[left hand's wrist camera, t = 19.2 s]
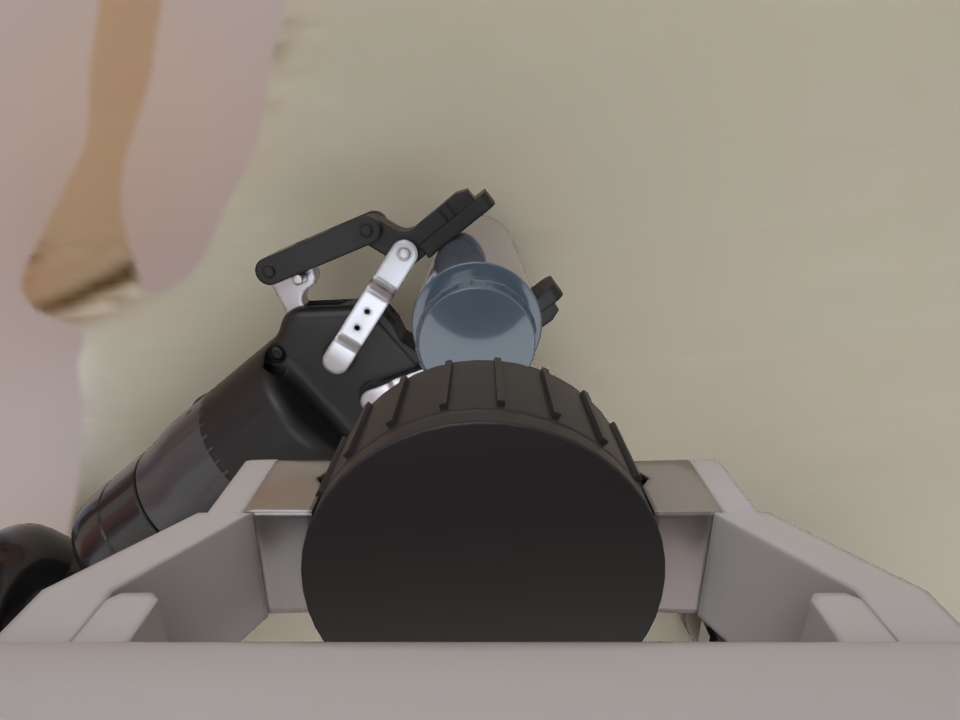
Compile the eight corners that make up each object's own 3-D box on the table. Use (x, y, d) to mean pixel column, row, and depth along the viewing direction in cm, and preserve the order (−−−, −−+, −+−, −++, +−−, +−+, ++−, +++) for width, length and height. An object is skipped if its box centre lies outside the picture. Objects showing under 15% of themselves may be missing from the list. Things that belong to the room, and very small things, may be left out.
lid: (417, 646, 11) (402, 761, 9) (275, 428, 10) (219, 508, 8) (670, 554, 11) (718, 656, 9) (564, 301, 9) (589, 351, 7)
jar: (478, 197, 33) (481, 242, 17) (530, 256, 34) (578, 348, 18) (421, 252, 34) (375, 342, 18) (474, 307, 35) (473, 437, 19)
